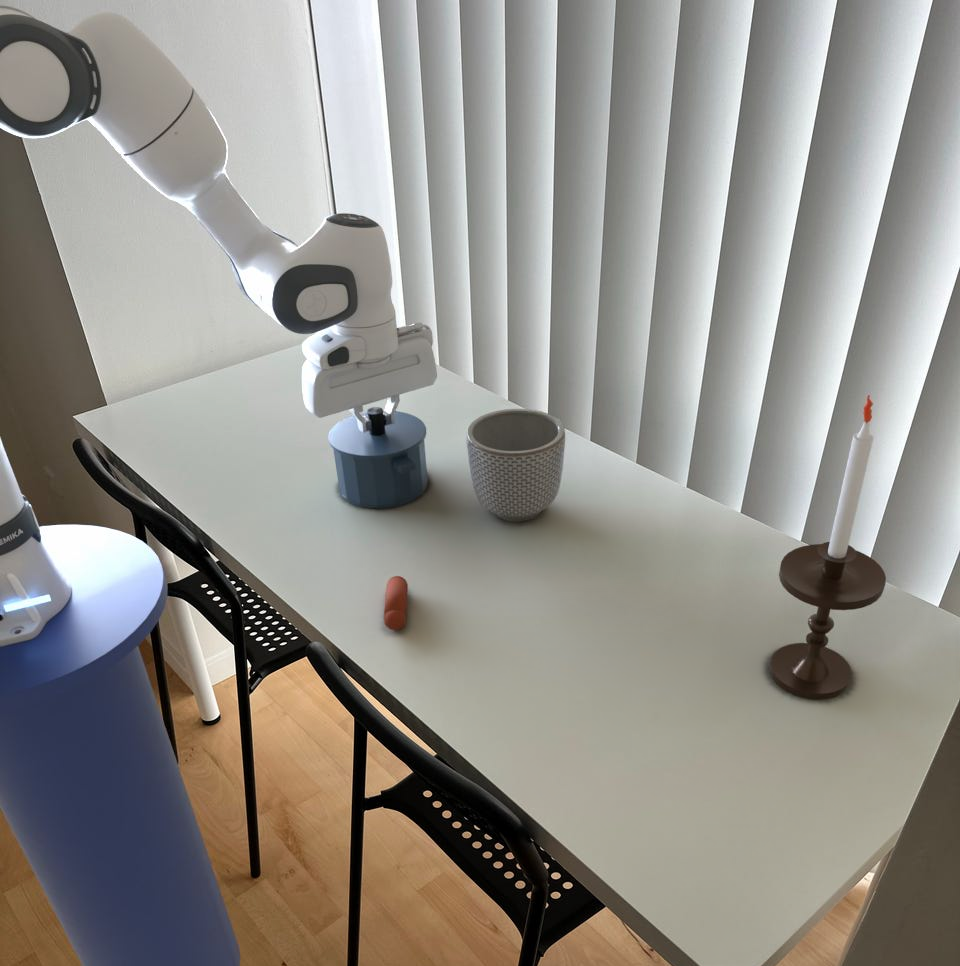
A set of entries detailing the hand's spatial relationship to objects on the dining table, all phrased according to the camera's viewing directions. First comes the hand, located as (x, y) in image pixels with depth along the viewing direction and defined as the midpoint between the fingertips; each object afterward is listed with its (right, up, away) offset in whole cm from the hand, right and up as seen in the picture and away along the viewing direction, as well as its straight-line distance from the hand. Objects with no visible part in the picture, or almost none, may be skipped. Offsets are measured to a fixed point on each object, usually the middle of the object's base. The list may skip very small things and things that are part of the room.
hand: (376, 426), depth 146 cm
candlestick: (+54, -36, -31) cm, 72 cm away
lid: (0, -1, +1) cm, 2 cm away
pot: (0, -8, +6) cm, 10 cm away
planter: (+21, -13, -1) cm, 24 cm away
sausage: (+5, -28, -19) cm, 34 cm away
